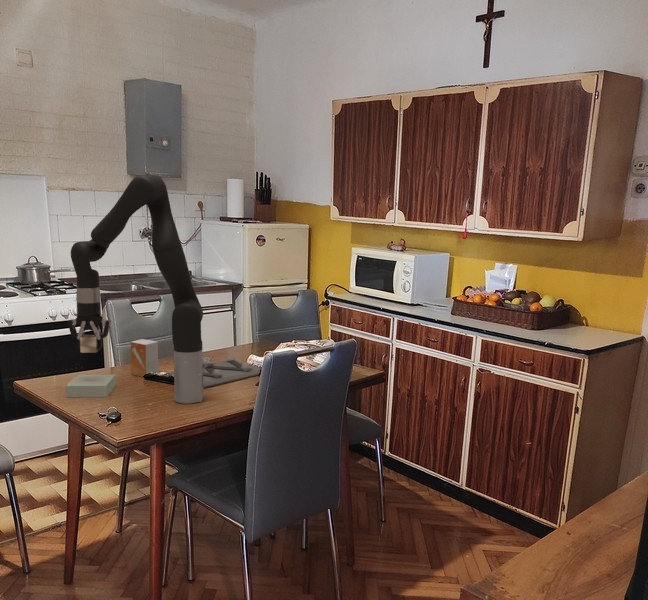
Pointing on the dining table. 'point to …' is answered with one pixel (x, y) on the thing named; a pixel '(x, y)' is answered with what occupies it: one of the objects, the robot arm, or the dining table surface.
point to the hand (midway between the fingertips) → (90, 349)
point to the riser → (91, 386)
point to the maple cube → (88, 344)
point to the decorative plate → (225, 371)
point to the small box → (144, 357)
